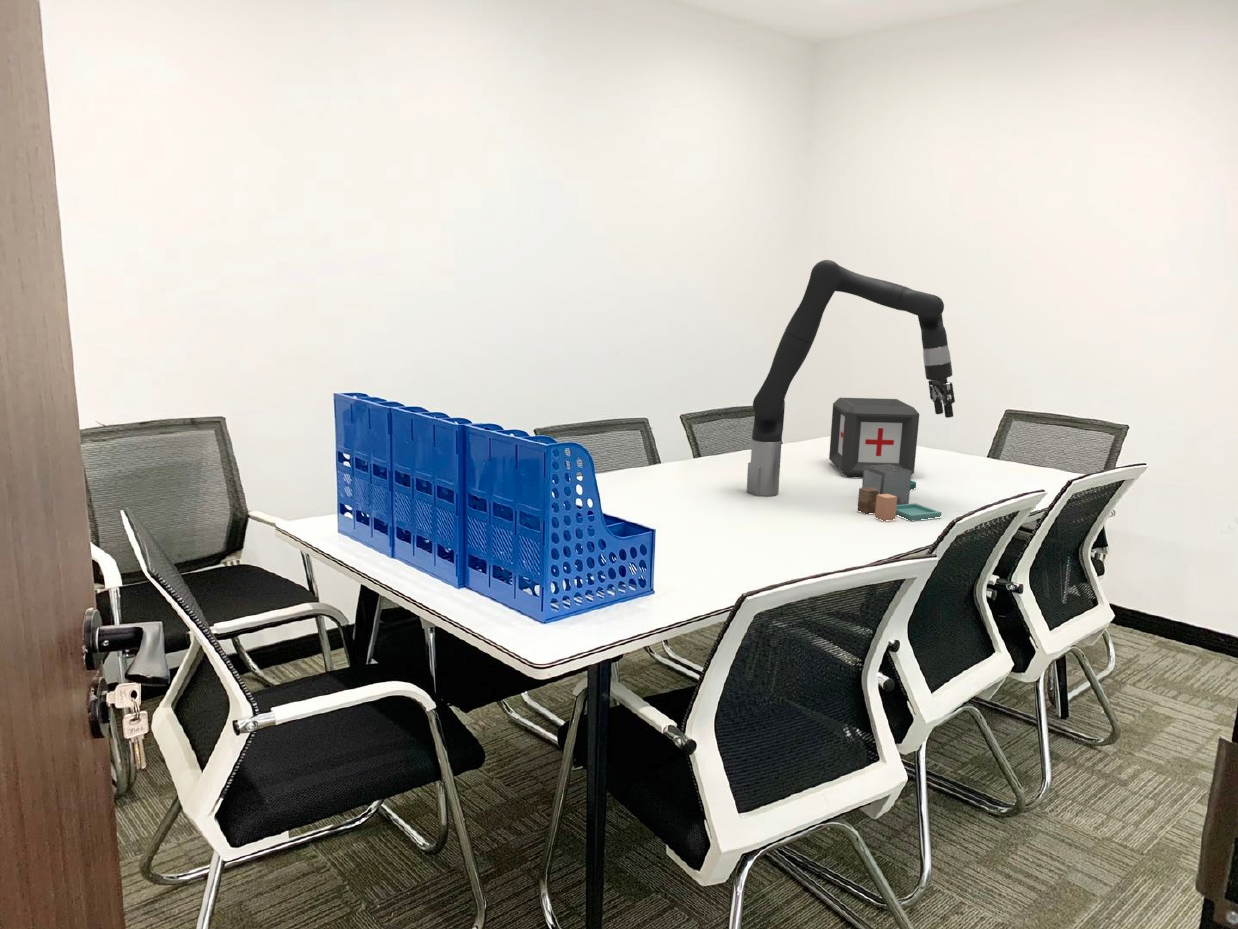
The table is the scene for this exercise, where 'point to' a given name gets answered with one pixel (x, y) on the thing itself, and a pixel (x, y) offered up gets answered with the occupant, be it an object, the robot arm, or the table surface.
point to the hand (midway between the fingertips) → (944, 415)
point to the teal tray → (916, 512)
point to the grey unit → (888, 481)
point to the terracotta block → (885, 507)
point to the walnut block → (867, 500)
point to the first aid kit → (872, 434)
